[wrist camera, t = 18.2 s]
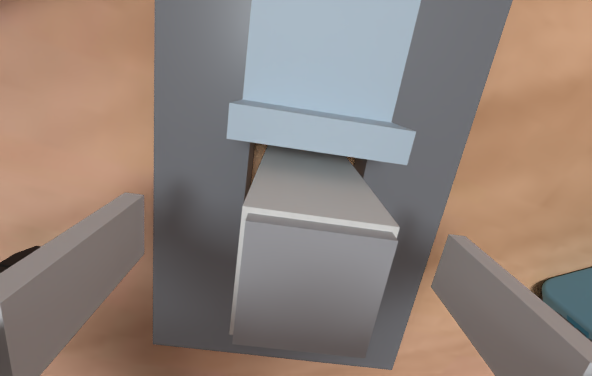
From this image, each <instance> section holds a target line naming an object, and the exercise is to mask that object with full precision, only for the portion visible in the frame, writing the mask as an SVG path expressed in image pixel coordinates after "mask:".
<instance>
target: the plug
mask: <svg viewBox="0 0 592 376" xmlns="http://www.w3.org/2000/svg"><path fill="white" fill-rule="evenodd" d="M399 229H400V227H399V225H398V224H397V223H396V222H395V220H394V219H393V218H392V216H391V215H390V214H389V212H388V211H387V210H386V208H385V207H384V206H383V205H382V203H381V202H380V201H379V199H378V198H377V197H376V195H375V194H374V193H373V191H372V190H371V189H370V187H369V186H368V185H367V184H366V182H365V181H364V180H363V178H362V177H361V176H360V174H359V173H358V172H357V170H356V169H355V168H354V166H353V165H352V164H351V163H350V161H349V160H348V159H347V157H346V156H341V155H334V154H327V153H320V152H314V151H307V150H300V149H293V148H286V147H280V146H273V145H268V146H267V149H266V151H265V153H264V156H263V158H262V161H261V163H260V165H259V168H258V170H257V172H256V175H255V177H254V180H253V182H252V184H251V187H250V189H249V192H248V194H247V196H246V199H245V201H244V204H243V206H242V215H241V225H240V235H239V244H238V254H237V264H236V273H235V283H234V293H233V302H232V312H231V322H230V331H229V334H230V335H233V341H232V344H236V345H245V346H255V347H264V348H273V349H282V350H291V351H300V352H310V353H319V354H328V355H337V356H346V357H355V358H365V356H366V353H367V349H368V346H369V342H370V339H371V335H372V332H373V328H374V325H375V321H376V318H377V314H378V311H379V307H380V304H381V300H382V297H383V293H384V290H385V286H386V283H387V279H388V276H389V272H390V269H391V265H392V262H393V258H394V255H395V251H396V248H397V244H398V240H397V236H398V232H399Z"/></svg>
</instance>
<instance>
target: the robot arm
mask: <svg viewBox="0 0 592 376" xmlns="http://www.w3.org/2000/svg"><path fill="white" fill-rule="evenodd" d="M143 255H144V195H140V194H132V193H123V194H122V195H120V196H119V197H117V198H116V199H114V200H113V201H111V202H110V203H108V204H106V205H105V206H103V207H102V208H100V209H99V210H97V211H96V212H94V213H93V214H91V215H89V216H88V217H86V218H85V219H83V220H82V221H80V222H79V223H77V224H76V225H74V226H73V227H71V228H69V229H68V230H66V231H65V232H63V233H62V234H60V235H59V236H57V237H56V238H54V239H52V240H51V241H49V242H48V243H46V244H45V245H43V246H42V247H40V246H34V247H32V248H29V249H26V250H24V251H21V252H18V253H16V254H14V255H12V256H10V257H9V258H7V259H5V260H4V261H2V262H0V376H40V375H41V374H42V372H43V371H44V370H45V369H46V368H47V367H48V365H49V364H50V363H51V362H52V361H53V360H54V358H55V357H56V356H57V355H58V354H59V353H60V351H61V350H62V349H63V348H64V347H65V346H66V344H67V343H68V342H69V341H70V340H71V339H72V337H73V336H74V335H75V334H76V333H77V332H78V330H79V329H80V328H81V327H82V326H83V325H84V323H85V322H86V321H87V320H88V319H89V318H90V316H91V315H92V314H93V313H94V312H95V311H96V309H97V308H98V307H99V306H100V305H101V304H102V302H103V301H104V300H105V299H106V298H107V297H108V295H109V294H110V293H111V292H112V291H113V290H114V289H115V287H116V286H117V285H118V284H119V283H120V282H121V280H122V279H123V278H124V277H125V276H126V275H127V273H128V272H129V271H130V270H131V269H132V268H133V266H134V265H135V264H136V263H137V262H138V261H139V259H140V258H141V257H142V256H143ZM431 287H432V289H433V290H434V292H435V293H436V294H437V296H438V297H439V298H440V300H441V301H442V303H443V304H444V305H445V307H446V308H447V310H448V311H449V312H450V314H451V315H452V316H453V318H454V319H455V321H456V322H457V323H458V325H459V326H460V328H461V329H462V330H463V332H464V333H465V334H466V336H467V337H468V339H469V340H470V341H471V343H472V344H473V346H474V347H475V348H476V350H477V351H478V352H479V354H480V355H481V357H482V358H483V359H484V361H485V362H486V364H487V365H488V366H489V368H490V369H491V370H492V372H493V373H494V375H495V376H592V340H591V339H589V338H586V335H585V334H583V333H582V332H581V331H580V330H579V329H577V328H574V325H573V324H571V323H570V322H569V321H568V320H567V319H565V318H564V317H563V316H562V315H561V314H559V313H558V312H556V311H555V310H553V309H552V308H551V307H549V306H548V305H547V304H546V303H545V302H543V301H542V300H541V299H540V298H539V297H537V296H536V295H535V294H534V293H533V292H531V291H530V290H529V289H528V288H527V287H525V286H524V285H523V284H522V283H521V282H519V281H518V280H517V279H516V278H515V277H513V276H512V275H511V274H510V273H509V272H507V271H506V270H505V269H504V268H503V267H501V266H500V265H499V264H498V263H497V262H495V261H494V260H493V259H492V258H491V257H489V256H488V255H487V254H486V253H485V252H483V251H482V250H481V249H480V248H479V247H477V246H476V245H475V244H474V243H473V242H471V241H470V240H469V239H468V238H467V237H465V236H459V235H451V234H449V235H448V238H447V241H446V244H445V247H444V250H443V253H442V256H441V259H440V262H439V265H438V268H437V271H436V273H435V276H434V279H433V282H432V285H431Z"/></svg>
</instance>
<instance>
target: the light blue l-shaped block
mask: <svg viewBox="0 0 592 376" xmlns="http://www.w3.org/2000/svg"><path fill="white" fill-rule="evenodd" d="M420 3H421V0H252V2H251V13H250V24H249V35H248V45H247V56H246V67H245V78H244V89H243V99H242V100H238V101H234V102H230V103H229V113H228V126H227V138H226V139H232V140H239V141H246V142H253V143H259V144H266V145H273V146H280V147H286V148H293V149H300V150H307V151H314V152H320V153H327V154H334V155H341V156H347V157H354V158H361V159H368V160H375V161H381V162H388V163H395V164H402V165H407V164H408V160H409V156H410V153H411V149H412V145H413V142H414V138H415V134H416V131H413V130H410V129H408V128H405V127H402V126H399V125H397V124H394V123H391V122H392V117H393V113H394V109H395V105H396V101H397V97H398V93H399V89H400V85H401V81H402V77H403V72H404V68H405V64H406V60H407V56H408V52H409V48H410V44H411V40H412V36H413V32H414V27H415V23H416V19H417V15H418V11H419V7H420Z"/></svg>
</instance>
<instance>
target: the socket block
mask: <svg viewBox="0 0 592 376" xmlns="http://www.w3.org/2000/svg"><path fill="white" fill-rule="evenodd" d="M251 2H252V0H155V60H154V233H153V344H157V345H166V346H175V347H184V348H194V349H203V350H212V351H221V352H231V353H240V354H249V355H258V356H268V357H277V358H286V359H295V360H305V361H314V362H323V363H332V364H342V365H351V366H360V367H369V368H379V369H388V370H392V368H393V365H394V362H395V359H396V356H397V353H398V350H399V347H400V344H401V340H402V337H403V334H404V331H405V328H406V325H407V322H408V319H409V316H410V313H411V310H412V307H413V304H414V301H415V298H416V295H417V291H418V288H419V285H420V282H421V279H422V276H423V273H424V270H425V267H426V264H427V261H428V258H429V255H430V252H431V249H432V246H433V242H434V239H435V236H436V233H437V230H438V227H439V224H440V221H441V218H442V215H443V212H444V209H445V206H446V203H447V200H448V197H449V193H450V190H451V187H452V184H453V181H454V178H455V175H456V172H457V169H458V166H459V163H460V160H461V157H462V154H463V151H464V148H465V144H466V141H467V138H468V135H469V132H470V129H471V126H472V123H473V120H474V117H475V114H476V111H477V108H478V105H479V102H480V98H481V95H482V92H483V89H484V86H485V83H486V80H487V77H488V74H489V71H490V68H491V65H492V62H493V59H494V56H495V53H496V49H497V46H498V43H499V40H500V37H501V34H502V31H503V28H504V25H505V22H506V19H507V16H508V13H509V10H510V7H511V4H512V0H421V3H420V7H419V11H418V15H417V19H416V23H415V27H414V32H413V36H412V40H411V44H410V48H409V52H408V56H407V60H406V64H405V68H404V72H403V77H402V81H401V85H400V89H399V93H398V97H397V101H396V105H395V109H394V113H393V117H392V122H391V123H394V124H397V125H399V126H402V127H405V128H408V129H410V130H413V131H416V134H415V138H414V142H413V145H412V149H411V153H410V156H409V160H408V164H407V165H402V164H395V163H388V162H381V161H375V160H368V159H361V158H356V159H355V163H354V168H355V169H356V170H357V172H358V173H359V174H360V176H361V177H362V178H363V180H364V181H365V182H366V184H367V185H368V186H369V187H370V189H371V190H372V191H373V193H374V194H375V195H376V197H377V198H378V199H379V201H380V202H381V203H382V205H383V206H384V207H385V208H386V210H387V211H388V212H389V214H390V215H391V216H392V218H393V219H394V220H395V222H396V223H397V224H398V225H399V227H400V229H399V232H398V236H397V240H398V244H397V248H396V251H395V255H394V258H393V262H392V265H391V269H390V272H389V276H388V279H387V283H386V286H385V290H384V293H383V297H382V300H381V304H380V307H379V311H378V314H377V318H376V321H375V325H374V328H373V332H372V335H371V339H370V342H369V346H368V349H367V353H366V356H365V358H355V357H346V356H337V355H328V354H319V353H310V352H300V351H291V350H282V349H273V348H264V347H255V346H245V345H236V344H232V341H233V335H230V334H229V331H230V322H231V312H232V302H233V293H234V283H235V273H236V264H237V254H238V244H239V235H240V225H241V215H242V206H243V204H244V201H245V199H246V196H247V194H248V192H249V189H250V185H251V175H252V166H253V157H254V148H255V143H253V142H246V141H239V140H232V139H226V138H227V126H228V113H229V103H230V102H234V101H238V100H242V99H243V89H244V78H245V67H246V56H247V45H248V35H249V24H250V13H251Z"/></svg>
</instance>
